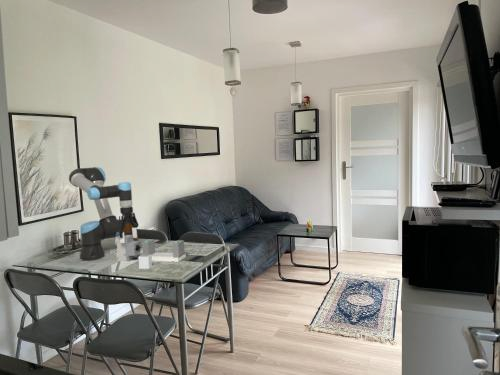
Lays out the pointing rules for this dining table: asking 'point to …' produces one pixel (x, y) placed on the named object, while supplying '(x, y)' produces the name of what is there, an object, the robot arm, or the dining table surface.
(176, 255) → the rail plate
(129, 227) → the mug
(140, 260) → the block
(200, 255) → the dining table surface
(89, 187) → the robot arm
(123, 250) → the circuit breaker
